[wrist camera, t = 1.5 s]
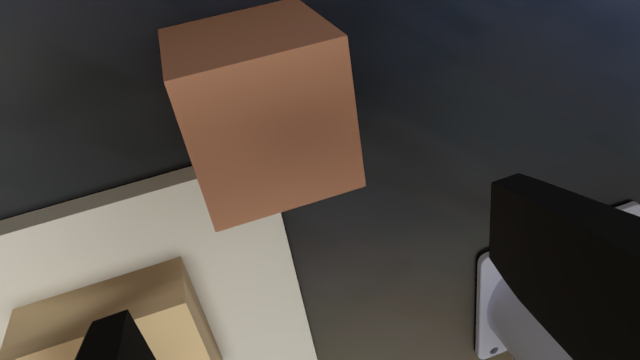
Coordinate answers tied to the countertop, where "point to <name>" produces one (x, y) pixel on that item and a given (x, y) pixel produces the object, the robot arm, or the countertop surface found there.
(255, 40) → the top brick
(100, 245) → the build plate
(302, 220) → the countertop surface
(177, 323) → the bottom brick
